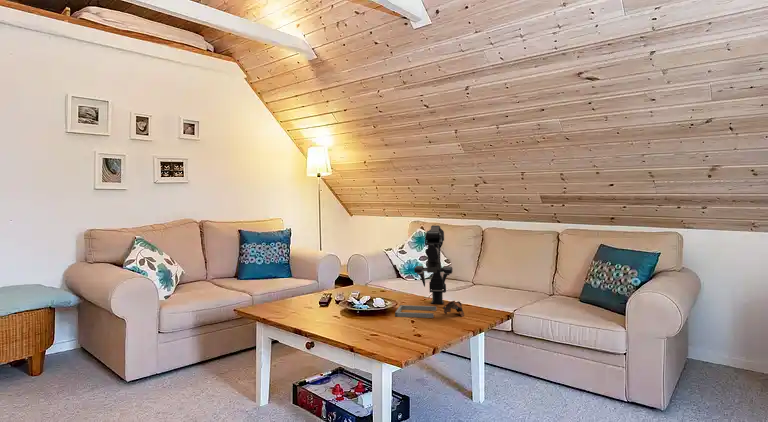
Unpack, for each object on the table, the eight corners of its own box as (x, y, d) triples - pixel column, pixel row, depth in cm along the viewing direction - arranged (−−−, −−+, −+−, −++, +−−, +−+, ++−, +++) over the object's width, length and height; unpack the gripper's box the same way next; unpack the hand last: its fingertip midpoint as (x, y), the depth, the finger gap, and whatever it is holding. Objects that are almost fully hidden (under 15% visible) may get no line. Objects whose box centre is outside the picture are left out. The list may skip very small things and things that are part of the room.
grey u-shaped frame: (400, 308, 267) (400, 305, 267) (436, 310, 263) (436, 306, 263) (395, 316, 251) (394, 312, 251) (433, 317, 247) (433, 313, 247)
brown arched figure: (461, 319, 246) (453, 305, 246) (446, 325, 251) (438, 311, 251) (469, 308, 256) (461, 294, 256) (455, 314, 261) (447, 300, 261)
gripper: (412, 257, 245) (412, 289, 246) (450, 258, 241) (451, 290, 242) (415, 254, 256) (416, 285, 256) (452, 255, 252) (452, 286, 253)
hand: (433, 286), depth 251 cm, fingers open, 9 cm apart
